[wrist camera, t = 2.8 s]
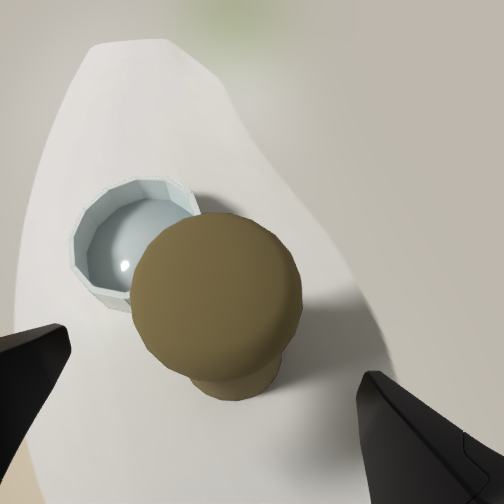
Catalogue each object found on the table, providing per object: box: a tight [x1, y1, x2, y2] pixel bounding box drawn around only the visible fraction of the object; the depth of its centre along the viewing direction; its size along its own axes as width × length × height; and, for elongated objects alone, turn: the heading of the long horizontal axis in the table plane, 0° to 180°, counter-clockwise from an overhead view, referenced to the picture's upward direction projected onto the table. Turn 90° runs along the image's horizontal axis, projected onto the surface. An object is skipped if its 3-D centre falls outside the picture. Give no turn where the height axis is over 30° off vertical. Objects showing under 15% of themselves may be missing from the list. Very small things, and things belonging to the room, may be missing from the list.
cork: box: [129, 213, 303, 401], centre depth 12 cm, size 6×6×11 cm
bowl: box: [69, 176, 201, 313], centre depth 19 cm, size 9×9×3 cm
